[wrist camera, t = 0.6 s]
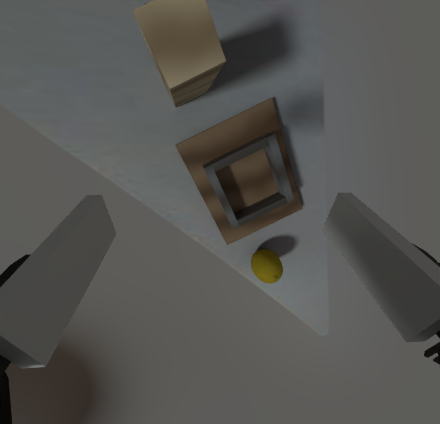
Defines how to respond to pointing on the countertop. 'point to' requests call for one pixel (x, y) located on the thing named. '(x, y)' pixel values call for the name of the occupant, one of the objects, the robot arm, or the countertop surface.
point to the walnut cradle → (243, 171)
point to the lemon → (266, 266)
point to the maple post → (182, 45)
